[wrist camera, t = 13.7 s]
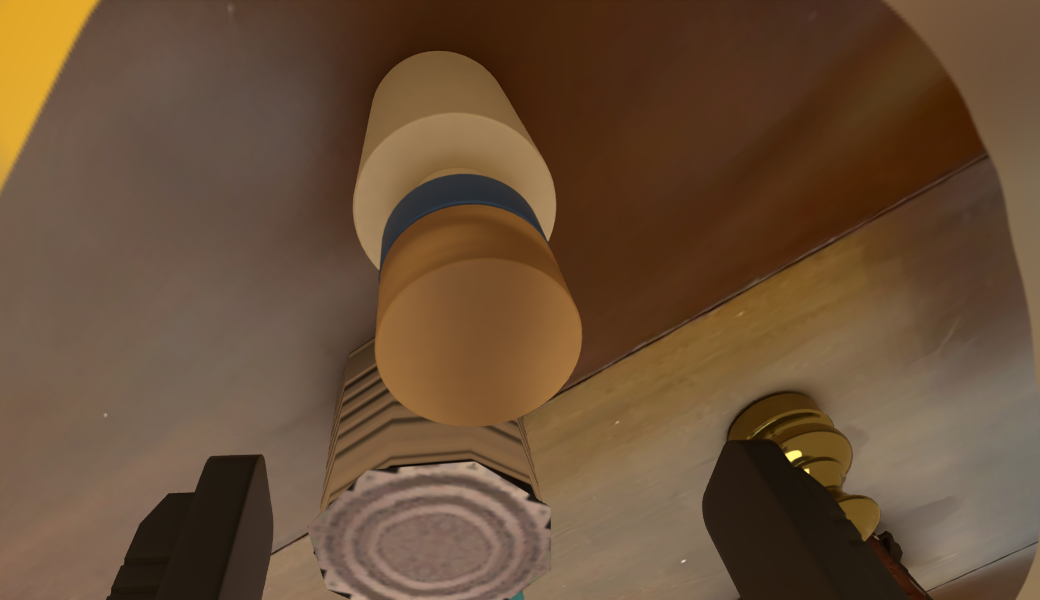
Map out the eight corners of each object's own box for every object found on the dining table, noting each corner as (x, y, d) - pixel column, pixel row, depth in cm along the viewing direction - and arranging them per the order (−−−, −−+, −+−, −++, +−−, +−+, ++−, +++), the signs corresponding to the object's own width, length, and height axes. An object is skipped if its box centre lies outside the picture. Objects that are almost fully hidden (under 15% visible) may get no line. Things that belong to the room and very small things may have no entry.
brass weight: (723, 471, 47) (791, 589, 38) (726, 402, 43) (804, 518, 34) (811, 449, 47) (898, 562, 39) (823, 380, 43) (924, 489, 35)
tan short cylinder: (379, 356, 17) (375, 430, 14) (379, 198, 14) (372, 255, 12) (543, 356, 18) (565, 426, 15) (568, 207, 15) (600, 262, 13)
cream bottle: (371, 186, 30) (343, 381, 17) (369, 43, 27) (333, 152, 14) (502, 193, 31) (569, 379, 18) (517, 57, 28) (612, 170, 15)
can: (449, 476, 42) (462, 647, 32) (300, 415, 37) (261, 595, 27) (551, 368, 38) (602, 524, 28) (401, 284, 33) (398, 438, 23)
